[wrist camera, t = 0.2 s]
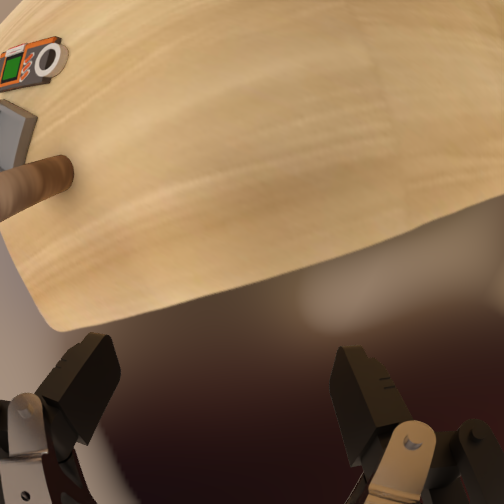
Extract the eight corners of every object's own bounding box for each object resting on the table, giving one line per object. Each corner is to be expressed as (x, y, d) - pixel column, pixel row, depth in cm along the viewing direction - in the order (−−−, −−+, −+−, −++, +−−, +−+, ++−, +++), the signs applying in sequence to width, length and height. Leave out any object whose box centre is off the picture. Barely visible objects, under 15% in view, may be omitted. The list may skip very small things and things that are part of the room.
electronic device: (52, 80, 20) (-11, 93, 19) (65, 81, 23) (1, 92, 21) (66, 30, 18) (-1, 51, 16) (78, 35, 20) (10, 53, 18)
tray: (4, 99, 22) (-7, 100, 19) (37, 117, 24) (25, 118, 22) (-11, 160, 26) (-22, 163, 23) (20, 184, 28) (8, 188, 25)
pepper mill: (54, 149, 26) (-30, 173, 13) (78, 163, 27) (-8, 194, 14) (45, 182, 28) (-33, 217, 15) (67, 197, 29) (-11, 240, 16)
